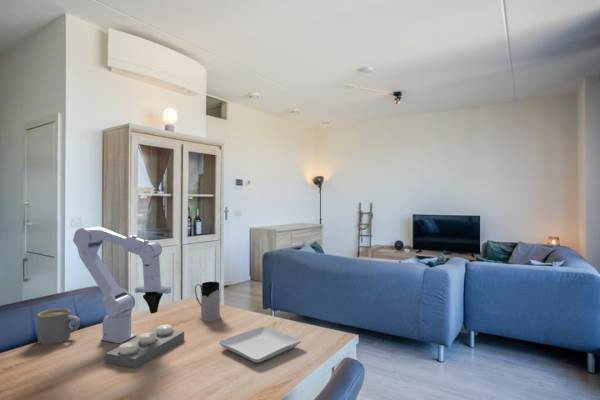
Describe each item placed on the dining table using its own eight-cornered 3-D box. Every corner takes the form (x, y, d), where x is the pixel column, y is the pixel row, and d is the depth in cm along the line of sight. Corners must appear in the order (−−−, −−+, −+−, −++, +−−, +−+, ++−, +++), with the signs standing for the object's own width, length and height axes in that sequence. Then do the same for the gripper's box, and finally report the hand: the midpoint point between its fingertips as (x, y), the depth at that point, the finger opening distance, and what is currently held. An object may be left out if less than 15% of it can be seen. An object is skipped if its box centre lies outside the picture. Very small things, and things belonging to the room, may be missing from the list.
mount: (105, 362, 116) (105, 353, 116) (157, 335, 138) (157, 327, 138) (135, 368, 112) (135, 358, 112) (184, 339, 135) (184, 331, 135)
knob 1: (115, 363, 115) (115, 347, 115) (128, 355, 121) (128, 340, 121) (129, 365, 114) (129, 349, 113) (142, 358, 119) (142, 343, 119)
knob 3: (152, 342, 131) (152, 329, 131) (163, 337, 137) (163, 323, 137) (165, 344, 130) (165, 330, 130) (175, 339, 135) (175, 325, 135)
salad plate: (216, 350, 126) (217, 340, 126) (263, 333, 142) (263, 324, 142) (256, 370, 112) (256, 359, 112) (303, 349, 127) (303, 339, 127)
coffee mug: (30, 344, 130) (30, 316, 130) (50, 333, 140) (50, 307, 140) (67, 344, 129) (67, 316, 129) (84, 334, 139) (84, 308, 139)
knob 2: (135, 352, 123) (135, 337, 123) (147, 345, 129) (147, 331, 129) (148, 354, 122) (148, 339, 122) (160, 348, 127) (160, 333, 127)
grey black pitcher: (209, 322, 153) (210, 287, 153) (187, 316, 161) (187, 282, 161) (224, 316, 160) (225, 282, 160) (202, 311, 168) (202, 278, 168)
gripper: (175, 273, 134) (177, 310, 134) (143, 273, 139) (145, 308, 139) (162, 277, 128) (164, 316, 128) (129, 277, 132) (131, 314, 132)
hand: (154, 312), depth 133 cm, fingers closed
